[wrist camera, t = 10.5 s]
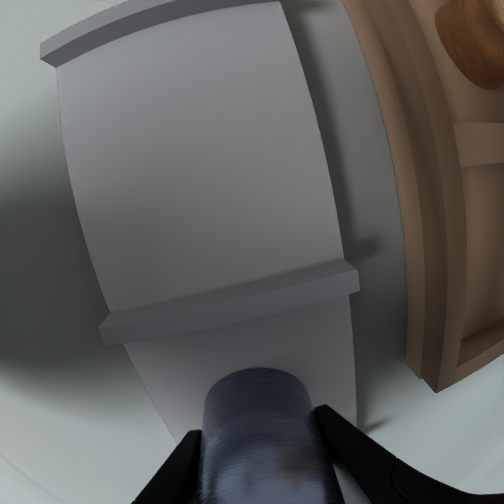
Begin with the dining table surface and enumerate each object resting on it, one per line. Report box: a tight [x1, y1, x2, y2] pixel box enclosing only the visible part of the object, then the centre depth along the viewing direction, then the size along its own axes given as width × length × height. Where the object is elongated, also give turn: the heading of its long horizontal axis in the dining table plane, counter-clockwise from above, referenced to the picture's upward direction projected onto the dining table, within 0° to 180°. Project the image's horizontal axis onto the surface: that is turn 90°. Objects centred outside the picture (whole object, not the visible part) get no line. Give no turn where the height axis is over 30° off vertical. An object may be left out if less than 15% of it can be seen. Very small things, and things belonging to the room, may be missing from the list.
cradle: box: [40, 0, 360, 444], centre depth 8 cm, size 7×18×2 cm, turn 13°
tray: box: [342, 0, 504, 393], centre depth 7 cm, size 9×16×2 cm, turn 13°
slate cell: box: [195, 367, 346, 504], centre depth 6 cm, size 4×4×7 cm
